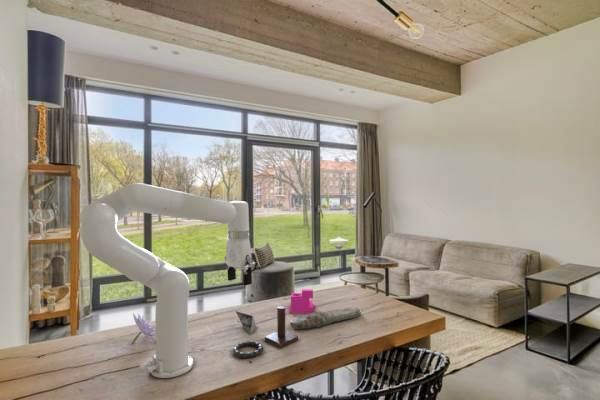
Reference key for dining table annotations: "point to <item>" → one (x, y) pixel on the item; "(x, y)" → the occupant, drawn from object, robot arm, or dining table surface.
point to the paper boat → (247, 321)
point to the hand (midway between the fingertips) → (239, 282)
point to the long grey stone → (324, 318)
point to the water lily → (144, 328)
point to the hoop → (247, 355)
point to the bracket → (302, 301)
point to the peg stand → (281, 331)
